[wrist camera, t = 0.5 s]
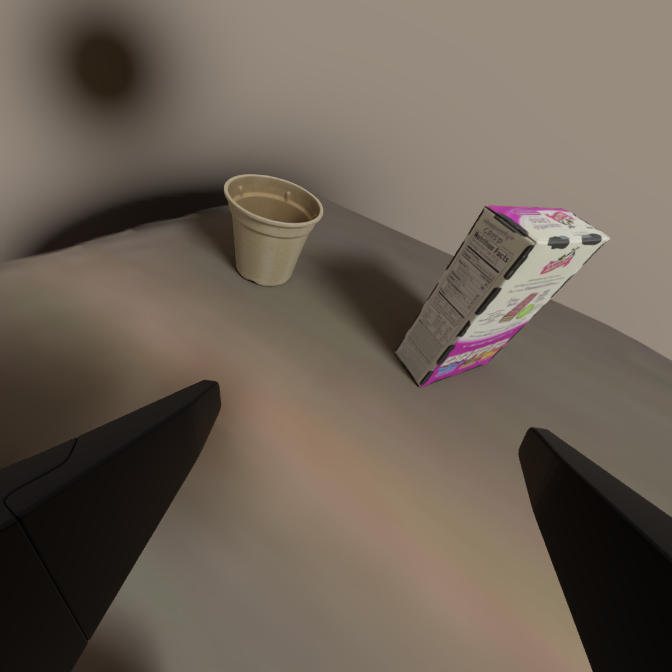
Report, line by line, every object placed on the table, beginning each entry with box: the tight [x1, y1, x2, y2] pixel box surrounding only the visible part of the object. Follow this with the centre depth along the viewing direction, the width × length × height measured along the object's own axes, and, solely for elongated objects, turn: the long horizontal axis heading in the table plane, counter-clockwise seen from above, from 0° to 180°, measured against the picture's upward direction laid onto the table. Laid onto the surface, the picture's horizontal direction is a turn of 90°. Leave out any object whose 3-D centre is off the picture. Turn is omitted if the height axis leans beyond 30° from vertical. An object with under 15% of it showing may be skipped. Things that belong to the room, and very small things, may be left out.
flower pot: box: [224, 174, 323, 286], centre depth 33 cm, size 9×9×9 cm
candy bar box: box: [395, 205, 610, 387], centre depth 29 cm, size 11×5×16 cm, turn 118°
